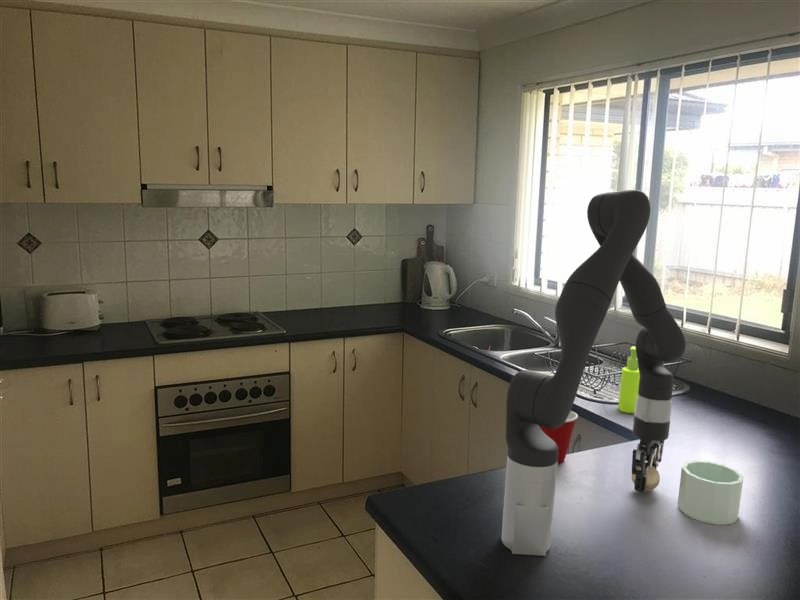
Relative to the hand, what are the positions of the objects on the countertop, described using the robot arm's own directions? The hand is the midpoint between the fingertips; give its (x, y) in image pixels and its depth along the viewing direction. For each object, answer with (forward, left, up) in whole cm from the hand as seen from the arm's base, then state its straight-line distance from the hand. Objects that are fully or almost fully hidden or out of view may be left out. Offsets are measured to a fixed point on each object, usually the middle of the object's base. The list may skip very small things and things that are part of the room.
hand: (644, 486), depth 151 cm
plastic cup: (+16, +18, -2) cm, 24 cm away
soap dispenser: (+59, -13, -2) cm, 61 cm away
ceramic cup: (-8, -11, -1) cm, 14 cm away
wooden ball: (0, 0, +2) cm, 2 cm away
